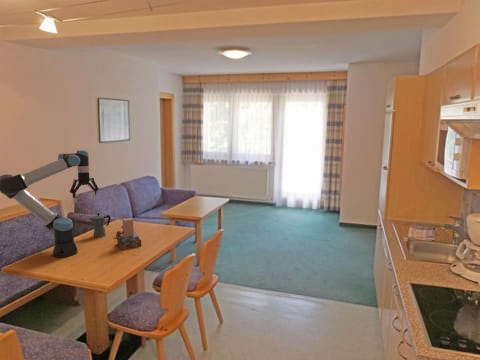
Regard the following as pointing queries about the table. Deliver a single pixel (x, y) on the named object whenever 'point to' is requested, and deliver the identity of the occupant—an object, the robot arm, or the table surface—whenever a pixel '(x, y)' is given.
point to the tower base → (129, 245)
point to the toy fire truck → (119, 232)
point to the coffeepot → (99, 225)
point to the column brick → (128, 227)
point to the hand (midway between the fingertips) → (85, 201)
